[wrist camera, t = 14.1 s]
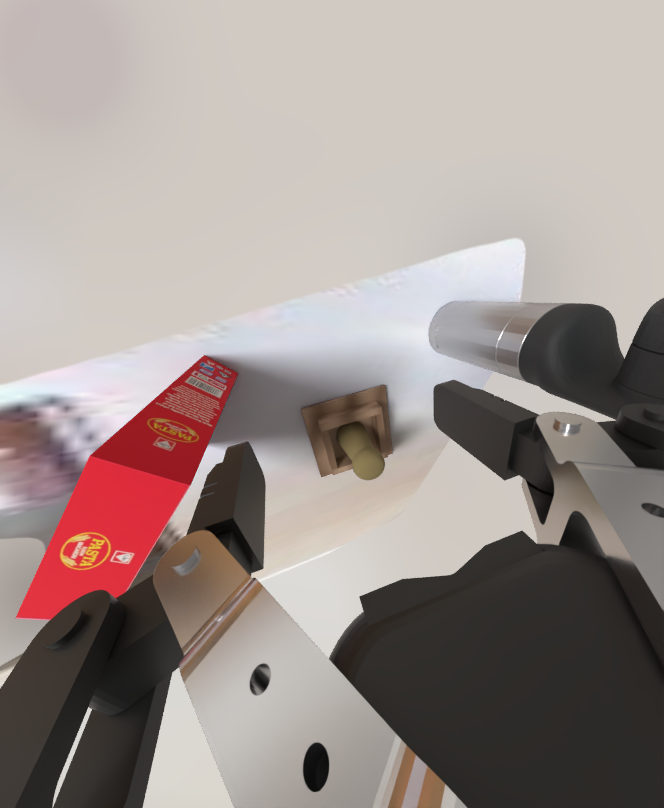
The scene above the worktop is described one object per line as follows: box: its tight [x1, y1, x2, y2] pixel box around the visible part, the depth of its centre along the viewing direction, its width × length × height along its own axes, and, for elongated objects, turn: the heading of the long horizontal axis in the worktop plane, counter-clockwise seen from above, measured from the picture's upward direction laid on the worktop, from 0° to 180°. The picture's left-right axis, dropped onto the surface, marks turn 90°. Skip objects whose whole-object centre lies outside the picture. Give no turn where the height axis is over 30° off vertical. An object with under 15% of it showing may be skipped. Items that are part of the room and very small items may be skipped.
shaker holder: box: [301, 385, 393, 477], centre depth 45 cm, size 16×16×4 cm
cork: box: [336, 421, 385, 480], centre depth 41 cm, size 6×6×11 cm
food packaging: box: [16, 355, 238, 620], centre depth 27 cm, size 15×5×25 cm, turn 145°
